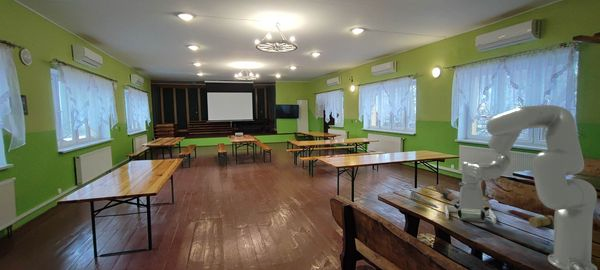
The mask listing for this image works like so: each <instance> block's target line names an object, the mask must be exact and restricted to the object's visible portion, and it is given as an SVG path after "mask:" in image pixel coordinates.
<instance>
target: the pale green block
mask: <svg viewBox="0 0 600 270" xmlns="http://www.w3.org/2000/svg"><path fill="white" fill-rule="evenodd" d="M456 214H457V219H458V220H460V221H468V222H469V221H471V222H482V223H486V222H487V215H486V214H485V218H484V220H482V219H481V211H474V210H461V218H460V217H459V216H458V210H457V212H456Z"/></svg>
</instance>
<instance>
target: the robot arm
mask: <svg viewBox="0 0 600 270" xmlns="http://www.w3.org/2000/svg"><path fill="white" fill-rule="evenodd" d="M538 128H545V129H546V133H545V143H546V148H547V150H543V151H540V152H537V154H535V155H534V157H533V159H532V161H531V170H532V175H533V179H534V185H535V189H536V195H537V197H538V199H539V200H540V202H541V203H542V204H543V205H544V206H545V207H546V208H548V209H551V210H555V211H554V216H553V217H554V225H553V253H551V254H549V255H548V256H547V261H548V262H549V263H550V264H551V265H552V266H554V267H556V268H557V269H559V270H598V267H597V266H596V265H595V264H594V263H592V246H593V245H592V244H593V243H592V242H593V241H592V239H593V222H594V221H593V219H594V211H595V206H596V204H597V200H598V193H597V191H596V189H595V187H594V186H593V185H592V183H590V182H588V181H586V180H584V179H581V178H567V176H572V175H576V174H579V173H581V172H583V170H584V169H585V161H584V156H583V152H582V147H581V144H580V140H579V135H578V131H577V123H576V119H575V117H574V115H573V113H572V112H571V111H569V110H568V109H566V108H565V107H563V106H560V105H559V106H558V105H551V104H538V105H524V106H520V107H517V108H513V109H511V110H507V111H504V112H501V113H500V114H496V115H493V116H492V117H491V118H489V120H488V121H487V123H486V130H487V132H488V134H489V135H491V136H490V139H489V140H488V142H487V146H488V147H489V149H491V150H492V151H494V152H496V153H495V156H494V157H493V159H492V161H490V162H482V163H480V162H478V161H476V160H464V161H462V163H461V182H458V185H459V186H460V191H459V195H458V197H459V198H457V199H455V200H451V203H452V206H454V207H455V208H456V209H457V210H458V216H459V217H460V218H461V209H462V208H470V209H481V219H482V220H484V218H485V212H486V211H487V210H489V208H490V207H491V206H492V203H491V202H490V201H489V202H487V201H485V200H483V193H482V189H481V181H482V180H489V179H496V178H499V177H501V176H503V174H504V173H505V172H506V171H507V169H508V167H510V164H511V160H512V158H511V157H512V155H511V149H512V148H513V147H514V145H515V143H516V141H517V140H518V138H519V136H520V135H521V134H522V132H523V130H527V129H528V130H529V129H538ZM458 201H459V202H458ZM457 203H459V204H457ZM484 203H485V204H487V206H486V207H485V208H483V207H484ZM458 216H457V217H458Z"/></svg>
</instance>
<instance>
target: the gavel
mask: <svg viewBox="0 0 600 270" xmlns="http://www.w3.org/2000/svg"><path fill="white" fill-rule="evenodd" d="M507 212H508V213H509V214H510V215H513V216H517V217H519V218H521V219H525V220H527V221H528V223H529V225H530V226H532V228H533V227H534V228H540V227H545V226H546V227H547V226H554V216H553V215H544V216H540V217H536V216H534V215H532V214H528V213H525V212H520V211H517V210H515V209H507Z"/></svg>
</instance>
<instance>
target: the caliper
mask: <svg viewBox="0 0 600 270" xmlns="http://www.w3.org/2000/svg"><path fill="white" fill-rule="evenodd" d="M410 199H411V200H413V199H414V200H415V199H417V200H419V201H422V202H424V203H426V204H427V205H429V206H431V207H433V208H436V209H438V208H439V207H438V206H437V204H435V203H433V202H432V201H429V200H427V199H425V198H424V197H423V196H421V195H420V194H418V193H416V191H415V190H411V191H410Z"/></svg>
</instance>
